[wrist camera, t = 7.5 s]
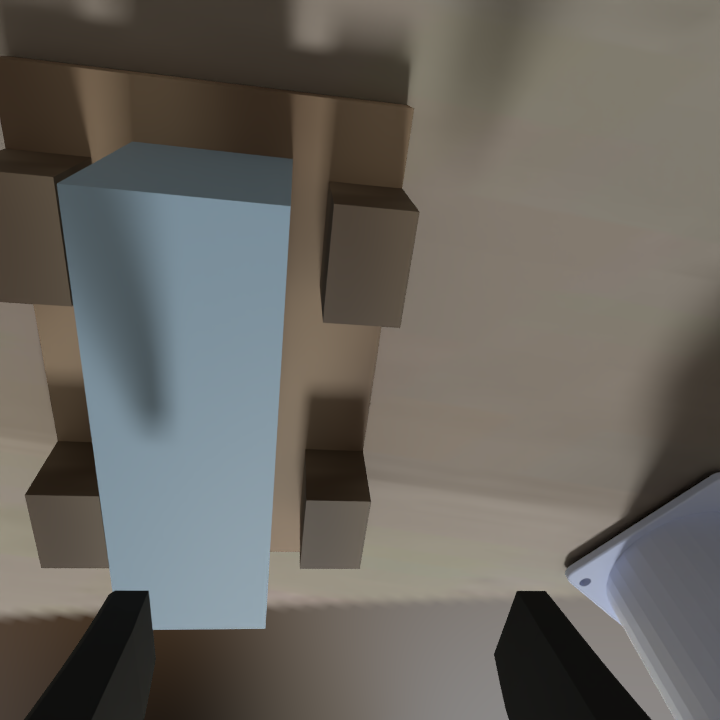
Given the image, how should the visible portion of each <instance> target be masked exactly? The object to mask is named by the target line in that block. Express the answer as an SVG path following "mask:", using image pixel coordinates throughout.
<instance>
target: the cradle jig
mask: <svg viewBox="0 0 720 720" xmlns="http://www.w3.org/2000/svg"><path fill="white" fill-rule="evenodd" d="M413 112H414V108H412V107H410V106H408V105H402V104H394V103H386V102H378V101H369V100H361V99H353V98H345V97H337V96H329V95H321V94H312V93H304V92H296V91H288V90H280V89H272V88H263V87H255V86H247V85H239V84H231V83H223V82H215V81H206V80H198V79H190V78H182V77H174V76H166V75H157V74H149V73H141V72H133V71H125V70H117V69H109V68H100V67H92V66H84V65H76V64H68V63H60V62H51V61H43V60H35V59H27V58H19V57H11V56H1V57H0V119H1V125H2V131H3V136H4V142H5V147H6V149H3V150H0V302H9V303H24V304H34V310H35V316H36V321H37V327H38V332H39V338H40V344H41V349H42V355H43V360H44V366H45V372H46V377H47V383H48V388H49V394H50V400H51V405H52V411H53V416H54V422H55V428H56V433H57V439H58V442H57V443H56V445H55V447H54V448H53V450H52V452H51V453H50V455H49V456H48V458H47V460H46V461H45V463H44V465H43V466H42V468H41V470H40V471H39V473H38V474H37V476H36V478H35V479H34V481H33V483H32V484H31V486H30V487H29V489H28V491H27V492H26V494H25V498H26V502H27V507H28V511H29V516H30V520H31V524H32V529H33V533H34V538H35V542H36V546H37V551H38V555H39V560H40V564H41V568H109V561H108V554H107V546H106V539H105V532H104V525H103V517H102V510H101V503H100V495H99V488H98V481H97V474H96V466H95V459H94V452H93V444H92V437H91V430H90V423H89V415H88V408H87V401H86V393H85V386H84V379H83V372H82V364H81V357H80V350H79V342H78V335H77V328H76V321H75V313H74V306H73V299H72V291H71V284H70V277H69V270H68V262H67V255H66V248H65V240H64V233H63V226H62V219H61V211H60V204H59V197H58V189H57V183H59V182H60V181H62V180H64V179H66V178H68V177H69V176H71V175H73V174H75V173H77V172H78V171H80V170H82V169H84V168H86V167H87V166H89V165H91V164H93V163H95V162H96V161H98V160H100V159H102V158H104V157H105V156H107V155H109V154H111V153H113V152H114V151H116V150H118V149H120V148H122V147H123V146H125V145H127V144H129V143H131V142H141V143H151V144H160V145H169V146H178V147H187V148H196V149H206V150H215V151H224V152H233V153H242V154H251V155H260V156H270V157H279V158H288V159H293V169H292V190H291V209H290V226H289V243H288V259H287V276H286V292H285V309H284V326H283V342H282V359H281V376H280V392H279V409H278V426H277V442H276V459H275V475H274V492H273V509H272V525H271V542H270V552H300V569H360V564H361V558H362V552H363V546H364V540H365V534H366V528H367V522H368V516H369V510H370V504H371V499H370V493H369V487H368V480H367V474H366V468H365V462H364V455H363V446H364V440H365V433H366V426H367V419H368V413H369V406H370V399H371V393H372V386H373V379H374V373H375V366H376V359H377V353H378V346H379V339H380V333H381V327H395V328H400V325H401V319H402V313H403V307H404V301H405V295H406V289H407V283H408V277H409V271H410V266H411V260H412V254H413V248H414V242H415V236H416V230H417V224H418V218H419V211H418V209H417V208H416V207H415V205H414V204H413V203H412V201H411V200H410V199H409V197H408V196H407V195H406V193H405V192H404V190H403V189H402V186H403V179H404V172H405V166H406V159H407V152H408V145H409V139H410V132H411V125H412V119H413Z"/></svg>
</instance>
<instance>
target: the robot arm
mask: <svg viewBox="0 0 720 720" xmlns="http://www.w3.org/2000/svg"><path fill="white" fill-rule="evenodd" d="M565 575H566V577H567V579H568V581H569V582H570V583H571V584H572V585H573V586H575V587H576V588H577V589H578V590H579V591H581V592H582V593H583V594H584V595H585V596H587V597H588V598H589V599H590V600H591V601H593V602H594V603H595V604H596V605H597V606H599V607H600V608H601V609H602V610H604V611H605V612H606V613H607V614H608V615H610V616H611V617H612V618H613V619H614V620H616V621H617V622H618V623H619V624H620V625H622V626H623V628H624V630H625V631H626V633H627V635H628V637H629V639H630V640H631V642H632V644H633V646H634V648H635V649H636V651H637V653H638V655H639V657H640V658H641V660H642V662H643V664H644V665H645V667H646V669H647V671H648V673H649V674H650V676H651V678H652V680H653V681H654V683H655V685H656V687H657V689H658V690H659V692H660V694H661V696H662V697H663V699H664V701H665V702H666V705H667V706H668V708H669V710H670V712H671V713H672V715H673V717H674V719H675V720H720V472H718V473H715V474H713V475H711V476H709V477H708V478H706V479H705V480H703V481H701V482H700V483H698V484H697V485H695V486H694V487H692V488H690V489H689V490H687V491H686V492H684V493H683V494H681V495H680V496H678V497H676V498H675V499H673V500H672V501H670V502H669V503H667V504H666V505H664V506H662V507H661V508H659V509H658V510H656V511H655V512H653V513H651V514H650V515H648V516H647V517H645V518H644V519H642V520H641V521H639V522H637V523H636V524H634V525H633V526H631V527H630V528H628V529H626V530H625V531H623V532H622V533H620V534H619V535H617V536H616V537H614V538H612V539H611V540H609V541H608V542H606V543H605V544H603V545H601V546H600V547H598V548H597V549H595V550H594V551H592V552H591V553H589V554H587V555H586V556H584V557H583V558H581V559H580V560H578V561H577V562H575V563H573V564H572V565H570V566H569V567H568V568H567V570H566V571H565ZM494 656H495V661H496V666H497V671H498V676H499V681H500V685H501V690H502V694H503V699H504V703H505V708H506V711H507V715H508V718H509V720H651V719H650V717H649V716H647V714H646V713H645V712H644V711H643V709H642V708H641V707H640V706H639V705H638V704H637V702H636V701H635V700H634V699H633V698H632V697H631V695H630V694H629V693H628V692H627V691H626V690H625V688H624V687H623V686H622V685H621V684H620V683H619V681H618V680H617V679H616V678H615V677H614V675H613V674H612V673H611V672H610V671H609V669H608V668H607V667H606V666H605V664H604V663H603V662H602V661H601V660H600V658H599V657H598V656H597V655H596V653H595V652H594V651H593V650H592V649H591V647H590V646H589V645H588V644H587V642H586V641H585V640H584V639H583V637H582V636H581V635H580V634H579V632H578V631H577V630H576V629H575V627H574V626H573V625H572V624H571V622H570V621H569V620H568V619H567V617H566V616H565V615H564V613H563V612H562V611H561V610H560V608H559V607H558V606H557V605H556V603H555V602H554V601H553V600H552V598H551V597H550V596H549V595H548V594H547V592H546V591H517V593H516V595H515V598H514V601H513V604H512V606H511V609H510V612H509V615H508V617H507V621H506V623H505V626H504V628H503V631H502V634H501V637H500V639H499V642H498V645H497V648H496V650H495V653H494ZM155 659H156V658H155V648H154V638H153V628H152V618H151V608H150V598H149V591H126V590H115V591H113V592H112V593H111V594H109V595H108V597H107V599H106V600H105V602H104V604H103V605H102V607H101V609H100V610H99V612H98V614H97V615H96V617H95V618H94V620H93V621H92V623H91V625H90V626H89V628H88V629H87V631H86V632H85V634H84V636H83V637H82V639H81V640H80V642H79V643H78V645H77V646H76V647H75V649H74V650H73V652H72V653H71V655H70V656H69V658H68V659H67V661H66V662H65V664H64V665H63V667H62V668H61V670H60V671H59V672H58V674H57V675H56V676H55V678H54V679H53V681H52V682H51V683H50V685H49V686H48V687H47V689H46V690H45V692H44V693H43V694H42V696H41V697H40V699H39V700H38V701H37V703H36V704H35V705H34V707H33V708H32V710H31V711H30V712H29V714H28V715H27V716H26V718H25V719H24V720H144V716H145V711H146V707H147V702H148V697H149V691H150V686H151V681H152V676H153V670H154V665H155Z"/></svg>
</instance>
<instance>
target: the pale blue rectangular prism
mask: <svg viewBox="0 0 720 720" xmlns="http://www.w3.org/2000/svg"><path fill="white" fill-rule="evenodd" d="M292 169H293V159H288V158H279V157H270V156H260V155H251V154H242V153H233V152H224V151H215V150H206V149H196V148H187V147H178V146H169V145H160V144H151V143H141V142H131V143H129V144H127V145H125V146H123V147H122V148H120V149H118V150H116V151H114V152H113V153H111V154H109V155H107V156H105V157H104V158H102V159H100V160H98V161H96V162H95V163H93V164H91V165H89V166H87V167H86V168H84V169H82V170H80V171H78V172H77V173H75V174H73V175H71V176H69V177H68V178H66V179H64V180H62V181H60V182H59V183H57V189H58V197H59V204H60V211H61V219H62V226H63V233H64V240H65V248H66V255H67V262H68V270H69V277H70V284H71V291H72V299H73V306H74V313H75V321H76V328H77V335H78V342H79V350H80V357H81V364H82V372H83V379H84V386H85V393H86V401H87V408H88V415H89V423H90V430H91V437H92V444H93V452H94V459H95V466H96V474H97V481H98V488H99V495H100V503H101V510H102V517H103V525H104V532H105V539H106V546H107V554H108V561H109V568H110V576H111V583H112V590H113V591H115V590H126V591H149V598H150V608H151V618H152V628H153V630H168V629H169V630H170V629H258V628H259V629H260V628H262V629H263V628H264V629H265V625H266V609H267V592H268V575H269V559H270V542H271V525H272V509H273V492H274V475H275V459H276V442H277V426H278V409H279V392H280V376H281V359H282V342H283V326H284V309H285V292H286V276H287V259H288V243H289V226H290V209H291V190H292Z"/></svg>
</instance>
